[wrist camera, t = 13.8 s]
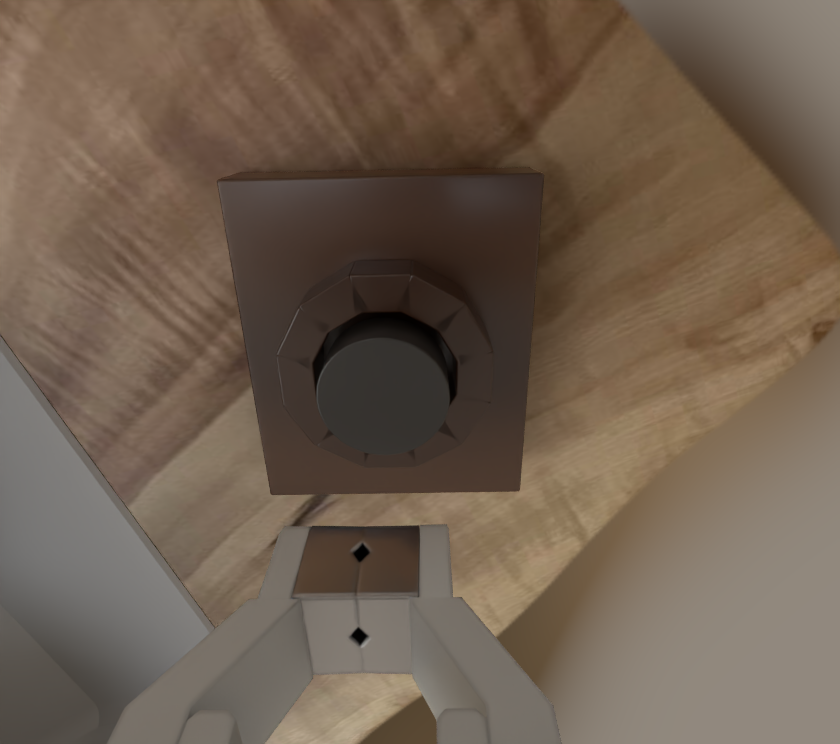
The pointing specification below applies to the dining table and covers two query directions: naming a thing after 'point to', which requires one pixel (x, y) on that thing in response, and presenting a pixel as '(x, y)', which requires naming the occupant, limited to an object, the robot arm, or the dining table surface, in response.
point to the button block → (388, 312)
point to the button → (384, 387)
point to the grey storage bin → (74, 584)
